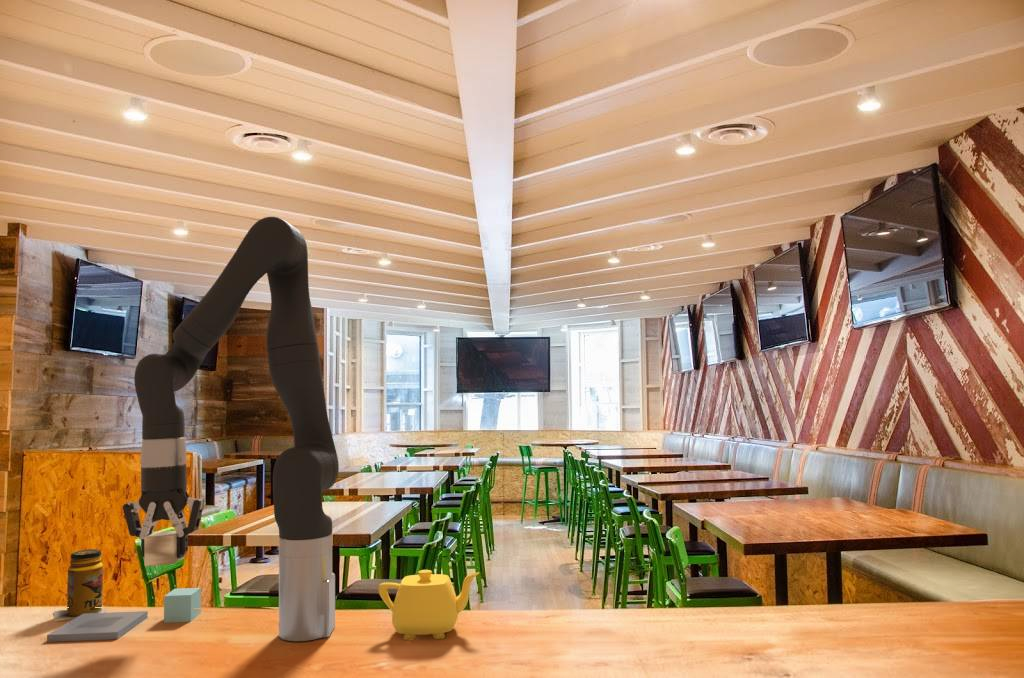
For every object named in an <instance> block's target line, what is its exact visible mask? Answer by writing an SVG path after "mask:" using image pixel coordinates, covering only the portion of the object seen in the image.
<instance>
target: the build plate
mask: <svg viewBox="0 0 1024 678" xmlns="http://www.w3.org/2000/svg"><path fill="white" fill-rule="evenodd" d="M148 612H149V611H148V610H143V611H141V610H140V611H138V610H137V611H117V612H116V611H115V612H114V611H113V612H105V613H84V614H82V615H80V616H78V617H77V618H73V619H71V620H70V621H68V622H67V623H65V624H63V625H62V626H59V627H58V628H57V629H55V630H53V631H51V632H50V633H48V634H47V635H46V642H47V643H51V642H52V643H53V642H54V643H55V642H74V641H75V642H76V641H77V642H81V641H99V640H100V641H101V640H103V641H104V640H105V641H107V640H118V639H120V638H121V637H123V636H124V635H125V634H126V633H128V632H130V631H131V630H133V629H134V628H135V627H136V626H138V625H139V624H140V623H142V622H143V621H145V620H146V619H147V618H148Z"/></svg>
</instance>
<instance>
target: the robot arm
mask: <svg viewBox="0 0 1024 678" xmlns="http://www.w3.org/2000/svg"><path fill="white" fill-rule="evenodd" d="M232 255H233V256H232V257H231V258H230V260H229V261H228V263H226V266H225V267H224V268H223V270H222V271H221V273H220V274H219V276H218V277H217V278H216V281H215V282H214V283H213V284H212V286H211V287H210V288H209V290H208V291H207V292H206V294H205V295H203V297H202V299H200V301H199V302H198V303H197V304H196V305H195V306H194V308H192V310H191V311H190V312H189V313H188V314H187V315H186V317H184V319H183V320H182V321H181V322H180V323H179V325H178V326H177V327H176V328H175V330H174V331H173V332H172V339H173V341H174V342H173V343H172V345H171V346H170V348H169V349H168V350H167V351H166V353H150V354H146V355H145V356H143V357H142V358H141V359H140V360H139V361H138V363H137V365H136V367H135V371H134V377H133V378H134V381H133V382H134V387H135V388H134V389H135V393H136V398H137V403H138V406H139V410H140V413H141V416H142V419H141V420H142V421H141V422H142V423H141V424H142V426H141V428H142V429H141V432H142V433H141V437H142V438H141V439H142V440H141V448H140V460H139V461H140V462H139V463H140V491H141V494H140V497H139V499H138V500H136V501H129V502H126V503H124V504H123V506H122V509H123V514H124V518H125V522H126V525H127V530H128V533H129V535H130V536H131V537H137V538H139V539H140V544H141V546H140V549H141V551H140V554H141V557H142V558H143V559H144V560H145V556H144V537H146V536H149V535H151V534H153V533H154V530H155V527H156V526H157V524H158V522H159V521H161V520H164V521H170V524H171V526H172V527H173V528H174V531H176V533H177V536H178V537H177V558H182V557H184V558H185V555H186V554H187V553H188V552H189V551H188V550H189V534H192V533H194V532H196V531H198V530H199V528H200V525H201V519H202V516H203V515H202V514H203V510H204V507H205V502H206V501H205V500H206V499H204V498H203V497H200V498H195V497H194V498H193V497H190V496H189V494H188V491H187V490H188V489H187V487H188V486H187V485H188V484H187V481H188V479H187V477H188V476H187V472H188V470H187V467H188V465H187V445H186V437H185V436H186V427H185V426H186V425H185V421H186V420H185V412H184V409H183V408H181V406H179V405H178V404H177V402H176V395H175V392H177V391H180V390H181V389H183V388H184V387H185V386H187V385H188V384H189V383H190V382H191V380H192V379H193V377H194V376H195V375H196V373H197V371H198V370H199V368H200V366H201V365H202V364H203V361H204V359H205V357H206V355H207V354H208V352H210V351H211V350H212V348H213V347H214V346H215V345H216V344H217V343H218V342H219V340H221V338H222V337H223V336H224V335H225V334H226V333H227V331H228V330H229V329H230V328H231V326H232V325H233V324H234V321H235V320H236V318H237V316H238V314H239V312H240V309H241V307H242V305H243V303H244V302H245V300H246V297H247V296H248V294H249V293H250V291H251V290H252V289H253V287H254V286H255V285H256V284H257V282H259V281H260V279H261V278H263V277H264V276H265V275H266V276H267V280H268V286H269V292H270V300H271V301H270V311H269V316H268V323H267V327H266V336H265V346H266V355H267V364H268V371H269V376H270V379H271V382H272V385H273V387H274V389H275V391H276V393H277V396H278V397H279V399H280V401H281V402H282V404H283V406H284V408H285V411H286V412H287V414H288V417H289V420H290V423H291V428H292V434H293V444H294V446H291V447H289V448H287V449H285V450H283V451H282V452H281V453H280V454H279V455H278V456H277V459H276V461H275V463H274V467H273V472H272V492H273V493H272V495H273V496H272V497H273V514H274V521H275V522H276V525H277V528H278V554H279V555H278V637H279V638H280V639H281V640H284V641H289V642H307V641H312V640H313V641H314V640H317V639H323V638H329V637H330V636H331V634H332V632H333V631H334V628H336V574H335V573H334V572H333V519H332V517H331V516H329V515H327V514H326V513H325V512H324V508H323V498H322V496H323V495H322V493H325V492H327V491H328V490H330V489H331V488H332V487H333V486H334V485H335V483H336V481H337V479H338V476H339V471H340V466H339V465H340V464H339V457H338V453H337V450H336V444H335V441H334V438H333V433H332V430H331V424H330V421H329V417H328V411H327V403H326V402H327V401H326V393H325V386H324V382H323V374H322V364H321V355H320V350H319V348H320V347H319V341H318V337H317V331H316V326H315V324H316V323H315V318H314V313H313V306H312V304H311V303H312V302H311V298H310V297H311V296H310V287H309V259H308V258H309V254H308V244H307V241H306V239H305V236H304V235H303V234H302V233H301V231H300V230H299V229H298V228H296V227H295V226H293V225H292V224H291V223H289V222H288V221H286V220H285V219H284V218H283V219H282V218H281V217H278V216H266V217H263V218H261V219H258V220H257V221H256V222H255V223H254V224H252V226H251V227H250V229H248V231H247V232H246V234H245V236H244V237H243V238H242V240H241V241H240V244H239V245H238V247H237V248H236V250H235V252H234V254H232ZM187 505H188V509H189V510H190V515H189V519H188V524H187V522H186V516H185V513H184V510H185V508H186V506H187ZM140 509H142V510H143V512H144V513H145V517H144V520H143V522H142V523H141V520H140V516H139V512H140Z"/></svg>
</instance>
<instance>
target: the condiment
mask: <svg viewBox="0 0 1024 678" xmlns="http://www.w3.org/2000/svg"><path fill="white" fill-rule="evenodd" d="M101 560H102V551H101V550H100V549H96V548H95V549H93V548H91V549H90V548H89V549H83V550H82V549H81V550H77V551H73V552H72V553H71V554H70V561H69V564H70V565H69V567H68V569H67V594H66V595H67V597H66V599H67V601H66V609H60V610H54V611H53V619H54V623H56V622H59V621H66V620H73V619H75V618H77V617H78V616H80V615H82V614H84V613H106V610H105V607H104V604H103V596H104V595H103V590H104V589H103V585H104V583H103V581H104V580H103V579H104V576H103V575H104V574H103V573H104V565H103V562H101ZM67 607H69V608H67ZM95 607H104V608H95Z"/></svg>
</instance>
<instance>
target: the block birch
mask: <svg viewBox="0 0 1024 678" xmlns="http://www.w3.org/2000/svg"><path fill="white" fill-rule="evenodd" d="M177 537H178V536H177V533H176V531H175V530H170V531H169V530H167V531H155V532H153V533H152V534H151V535H149V536H146V537H144V556H145V559H144V567H150V566H154V567H155V566H169V565H171V566H172V565H175V564H177V563H179V562H180V561H182V560H183V559H185V556H184V557H182V558H177Z"/></svg>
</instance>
